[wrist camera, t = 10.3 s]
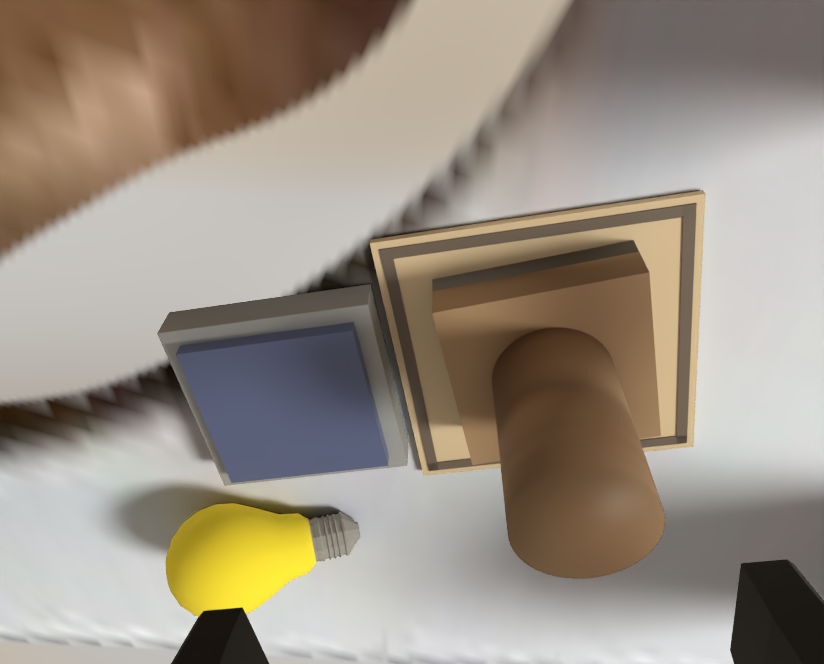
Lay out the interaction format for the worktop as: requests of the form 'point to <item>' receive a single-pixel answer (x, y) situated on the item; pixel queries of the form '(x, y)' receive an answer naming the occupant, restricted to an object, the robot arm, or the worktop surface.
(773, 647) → the robot arm
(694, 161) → the worktop surface
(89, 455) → the worktop surface
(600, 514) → the stamp
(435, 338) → the card sheet
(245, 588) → the light bulb
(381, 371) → the ink pad
